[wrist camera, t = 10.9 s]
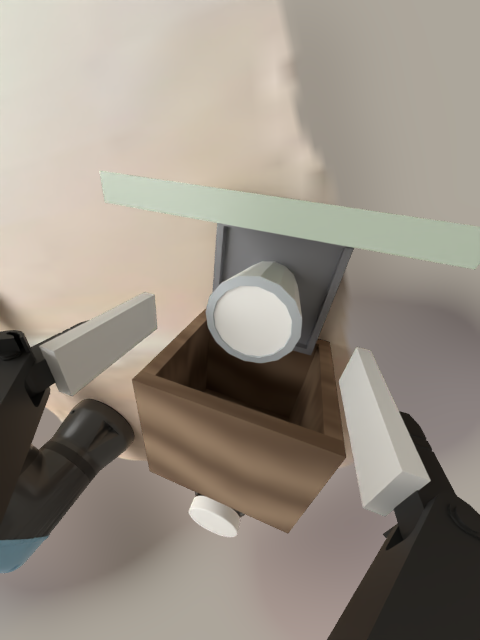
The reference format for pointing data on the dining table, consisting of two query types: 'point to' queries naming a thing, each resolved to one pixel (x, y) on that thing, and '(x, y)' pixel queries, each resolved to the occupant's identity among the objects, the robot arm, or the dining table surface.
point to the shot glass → (256, 313)
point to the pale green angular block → (296, 236)
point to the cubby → (242, 424)
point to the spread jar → (215, 516)
